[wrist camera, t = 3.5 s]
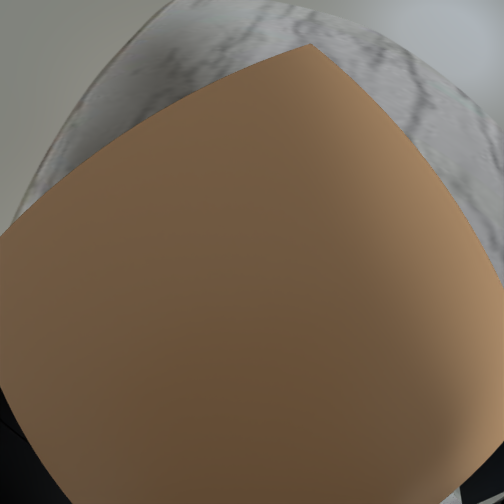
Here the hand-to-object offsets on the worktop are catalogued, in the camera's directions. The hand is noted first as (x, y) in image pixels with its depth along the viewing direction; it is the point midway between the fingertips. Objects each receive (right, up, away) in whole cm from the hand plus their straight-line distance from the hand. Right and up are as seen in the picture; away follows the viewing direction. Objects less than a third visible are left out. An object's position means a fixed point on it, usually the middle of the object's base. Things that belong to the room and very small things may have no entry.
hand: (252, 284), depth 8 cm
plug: (0, -3, +7) cm, 7 cm away
